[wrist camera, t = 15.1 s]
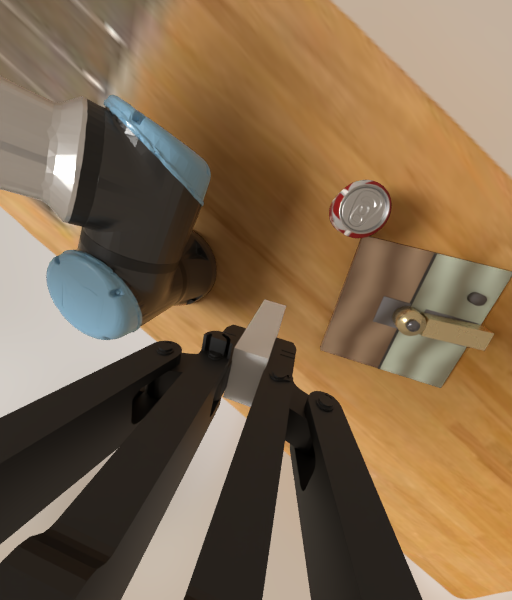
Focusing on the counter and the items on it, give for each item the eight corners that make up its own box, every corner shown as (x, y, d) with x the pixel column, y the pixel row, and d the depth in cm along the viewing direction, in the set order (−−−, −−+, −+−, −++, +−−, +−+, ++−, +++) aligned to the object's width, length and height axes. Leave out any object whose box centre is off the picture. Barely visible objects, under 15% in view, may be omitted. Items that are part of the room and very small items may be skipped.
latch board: (320, 346, 48) (320, 354, 46) (362, 234, 40) (365, 235, 38) (437, 383, 45) (444, 393, 43) (508, 270, 37) (521, 274, 35)
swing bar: (388, 324, 42) (395, 334, 39) (397, 303, 41) (404, 311, 37) (471, 344, 40) (486, 356, 37) (483, 322, 39) (499, 332, 35)
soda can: (382, 203, 38) (410, 198, 27) (354, 241, 41) (368, 250, 30) (346, 180, 38) (358, 165, 27) (320, 219, 41) (322, 220, 30)
